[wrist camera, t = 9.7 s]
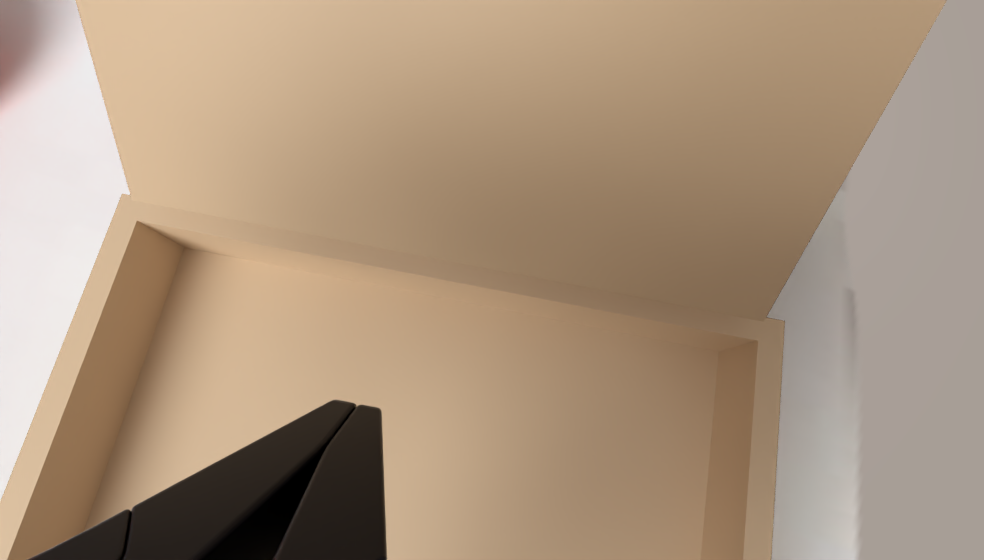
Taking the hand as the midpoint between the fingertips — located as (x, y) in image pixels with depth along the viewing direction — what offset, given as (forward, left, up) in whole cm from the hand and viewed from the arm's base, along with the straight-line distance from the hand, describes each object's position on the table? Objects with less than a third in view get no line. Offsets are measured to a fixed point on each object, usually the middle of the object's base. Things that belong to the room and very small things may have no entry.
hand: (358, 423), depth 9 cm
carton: (-3, 0, -11) cm, 11 cm away
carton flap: (+5, 0, -7) cm, 8 cm away
